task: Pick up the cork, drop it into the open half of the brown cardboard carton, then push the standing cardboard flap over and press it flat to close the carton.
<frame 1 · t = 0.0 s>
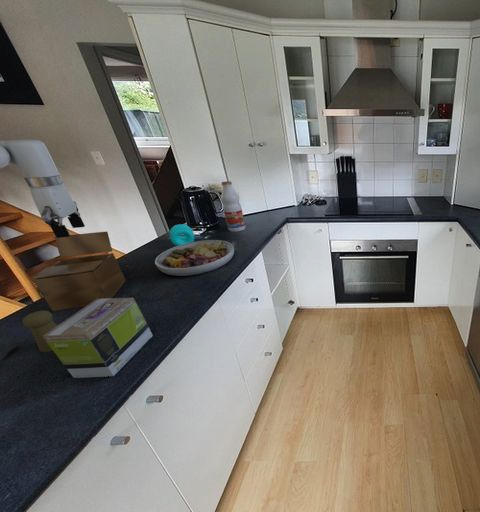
hand: (71, 231, 94), 23 cm above the worktop, tool pointing down, fingers open, 9 cm apart
cyan donut: (185, 244, 143), on the worktop
carton: (92, 294, 101), on the worktop
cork: (55, 344, 79), on the worktop
fruit juice: (237, 229, 164), on the worktop
flap: (84, 244, 101), point 17 cm above the worktop, hinge at 110.0°
tea box: (117, 356, 76), on the worktop
bowl: (199, 262, 125), on the worktop
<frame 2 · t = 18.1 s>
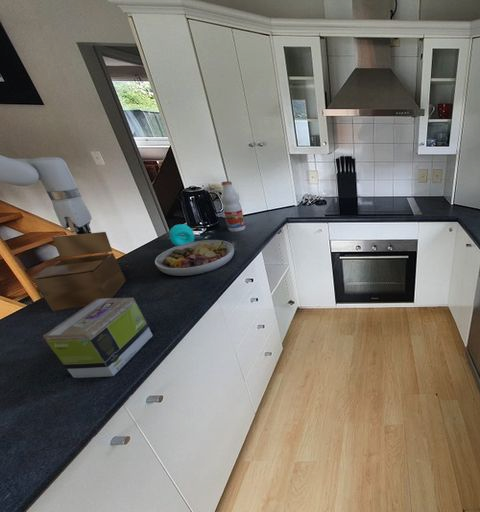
hand: (89, 242, 104), 16 cm above the worktop, tool pointing down, fingers closed
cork: (97, 289, 104), resting on carton
flap: (83, 244, 101), point 17 cm above the worktop, hinge at 100.4°, touching gripper
everything else where it was.
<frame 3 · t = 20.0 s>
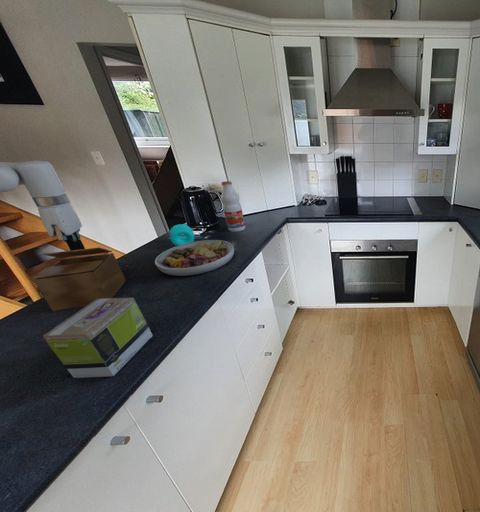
hand: (78, 250, 98), 16 cm above the worktop, tool pointing down, fingers closed
flap: (79, 252, 98), point 15 cm above the worktop, hinge at 34.1°, touching gripper
everything else where it was.
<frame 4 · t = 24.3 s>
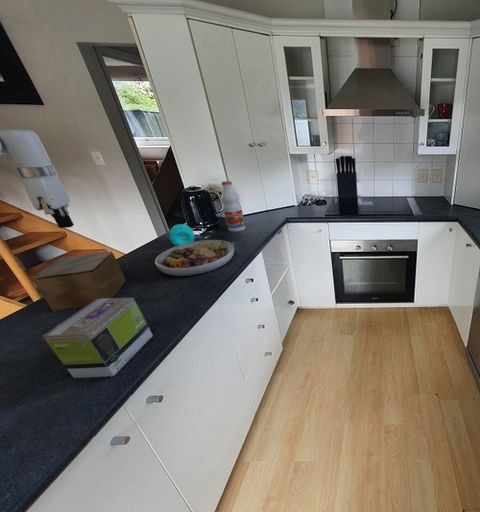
hand: (66, 226, 94), 25 cm above the worktop, tool pointing down, fingers closed
flap: (81, 259, 99), point 13 cm above the worktop, hinge at -0.3°
everything else where it was.
at the end: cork inside the target area in the carton (3.4 cm from its centre), point 0.2 cm above the carton's base; flap at +0° (first picture: +110°) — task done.
